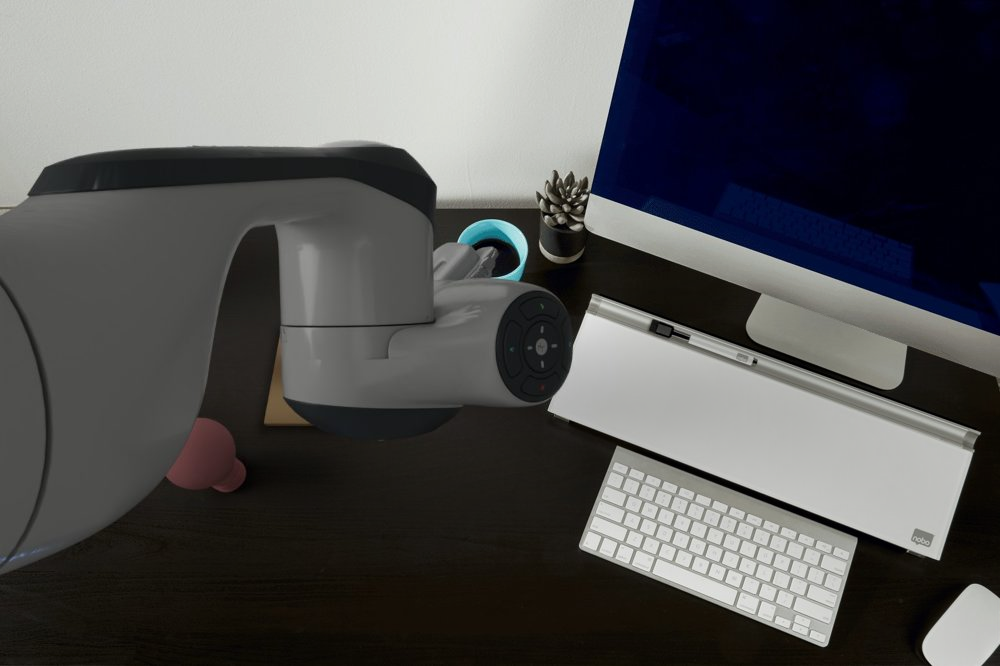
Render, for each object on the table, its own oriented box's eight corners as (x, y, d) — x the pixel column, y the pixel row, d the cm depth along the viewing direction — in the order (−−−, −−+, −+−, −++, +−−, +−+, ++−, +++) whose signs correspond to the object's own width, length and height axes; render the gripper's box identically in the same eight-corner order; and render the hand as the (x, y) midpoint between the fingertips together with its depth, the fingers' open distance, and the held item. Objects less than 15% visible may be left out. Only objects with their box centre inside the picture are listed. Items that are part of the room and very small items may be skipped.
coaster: (369, 426, 82) (368, 424, 81) (266, 426, 83) (263, 423, 82) (380, 332, 88) (378, 329, 87) (282, 332, 88) (280, 329, 88)
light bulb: (190, 464, 81) (137, 427, 71) (250, 435, 82) (207, 395, 72) (208, 521, 78) (155, 491, 68) (270, 490, 79) (228, 456, 69)
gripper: (483, 219, 60) (413, 232, 72) (312, 404, 53) (265, 385, 65) (528, 274, 63) (453, 278, 74) (369, 458, 56) (314, 430, 67)
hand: (364, 329), depth 70 cm, fingers closed on bottle, 6 cm apart
